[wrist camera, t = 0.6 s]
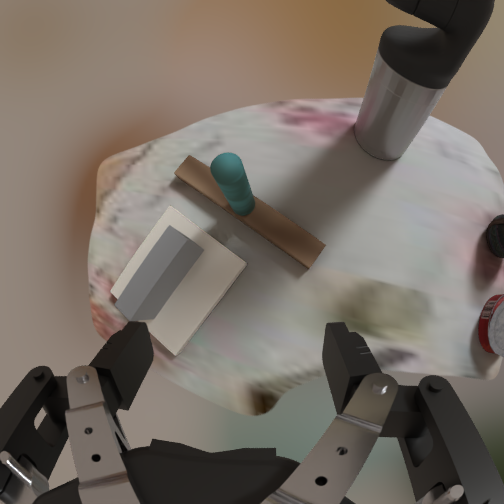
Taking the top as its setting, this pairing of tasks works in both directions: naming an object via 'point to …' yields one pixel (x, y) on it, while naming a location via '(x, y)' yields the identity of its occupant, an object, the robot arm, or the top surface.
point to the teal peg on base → (248, 205)
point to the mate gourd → (496, 236)
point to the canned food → (492, 325)
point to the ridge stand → (175, 280)
